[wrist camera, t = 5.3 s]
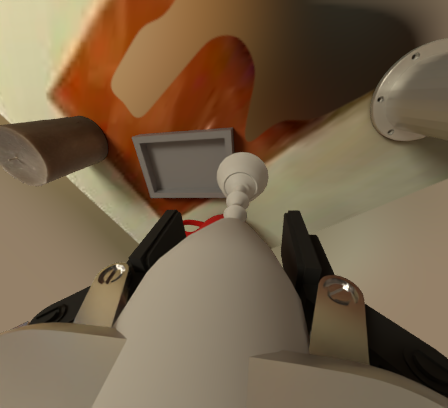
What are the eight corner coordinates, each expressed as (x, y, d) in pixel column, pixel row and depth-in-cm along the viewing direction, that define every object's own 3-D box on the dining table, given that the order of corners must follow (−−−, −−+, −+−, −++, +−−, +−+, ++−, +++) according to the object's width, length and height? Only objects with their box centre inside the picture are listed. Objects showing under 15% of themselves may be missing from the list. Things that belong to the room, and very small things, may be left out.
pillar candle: (76, 104, 37) (-23, 109, 24) (116, 143, 39) (46, 165, 27) (61, 138, 41) (-29, 157, 29) (98, 170, 44) (30, 201, 31)
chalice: (262, 217, 20) (283, 622, 5) (202, 199, 20) (20, 539, 5) (290, 151, 16) (968, 1201, 1) (216, 130, 16) (-499, 699, 1)
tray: (232, 127, 34) (230, 130, 31) (236, 191, 40) (235, 197, 38) (140, 134, 38) (131, 137, 35) (157, 192, 44) (150, 197, 41)
